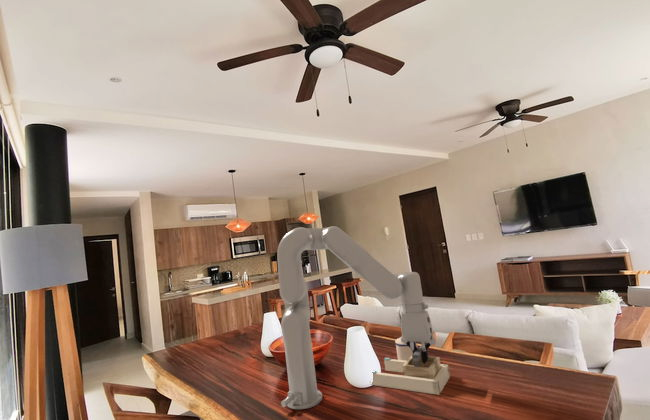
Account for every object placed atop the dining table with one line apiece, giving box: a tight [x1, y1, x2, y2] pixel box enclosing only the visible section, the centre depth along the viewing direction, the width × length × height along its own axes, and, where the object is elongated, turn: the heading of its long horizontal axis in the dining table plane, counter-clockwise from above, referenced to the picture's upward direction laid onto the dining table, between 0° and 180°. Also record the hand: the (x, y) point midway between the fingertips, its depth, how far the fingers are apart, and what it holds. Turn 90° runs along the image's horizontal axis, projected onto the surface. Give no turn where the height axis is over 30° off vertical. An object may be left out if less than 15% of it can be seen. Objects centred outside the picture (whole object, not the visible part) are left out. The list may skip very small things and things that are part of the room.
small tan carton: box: [402, 345, 442, 379], centre depth 114 cm, size 10×10×11 cm
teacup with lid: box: [394, 336, 419, 361], centre depth 137 cm, size 12×9×12 cm
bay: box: [370, 357, 451, 396], centre depth 117 cm, size 16×24×5 cm, turn 56°
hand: (421, 361), depth 115 cm, fingers closed on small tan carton, 2 cm apart
